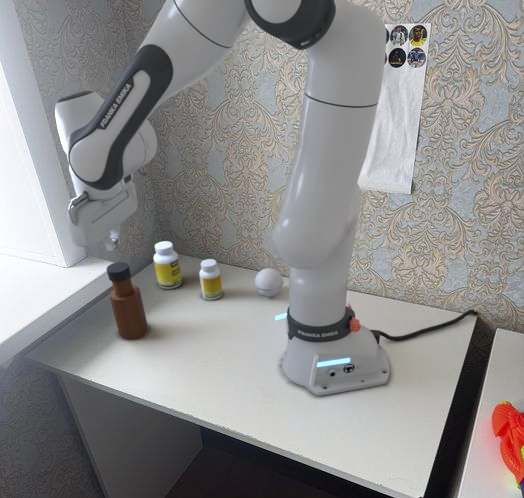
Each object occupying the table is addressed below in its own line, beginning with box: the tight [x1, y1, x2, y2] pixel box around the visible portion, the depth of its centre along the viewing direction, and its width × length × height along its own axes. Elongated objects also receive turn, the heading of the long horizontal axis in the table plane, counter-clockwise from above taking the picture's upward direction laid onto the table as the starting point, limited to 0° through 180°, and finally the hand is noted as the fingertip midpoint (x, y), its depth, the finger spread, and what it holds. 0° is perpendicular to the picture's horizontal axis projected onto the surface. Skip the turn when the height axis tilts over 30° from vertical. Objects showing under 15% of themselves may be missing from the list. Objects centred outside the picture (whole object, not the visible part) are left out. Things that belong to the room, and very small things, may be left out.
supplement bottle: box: [198, 258, 223, 301], centre depth 129 cm, size 5×5×10 cm
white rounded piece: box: [254, 267, 289, 298], centre depth 128 cm, size 10×7×7 cm
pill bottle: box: [153, 240, 183, 290], centre depth 134 cm, size 6×6×12 cm
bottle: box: [108, 277, 149, 341], centre depth 116 cm, size 7×7×15 cm
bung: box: [106, 261, 132, 283], centre depth 111 cm, size 5×5×4 cm
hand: (113, 247), depth 107 cm, fingers closed
